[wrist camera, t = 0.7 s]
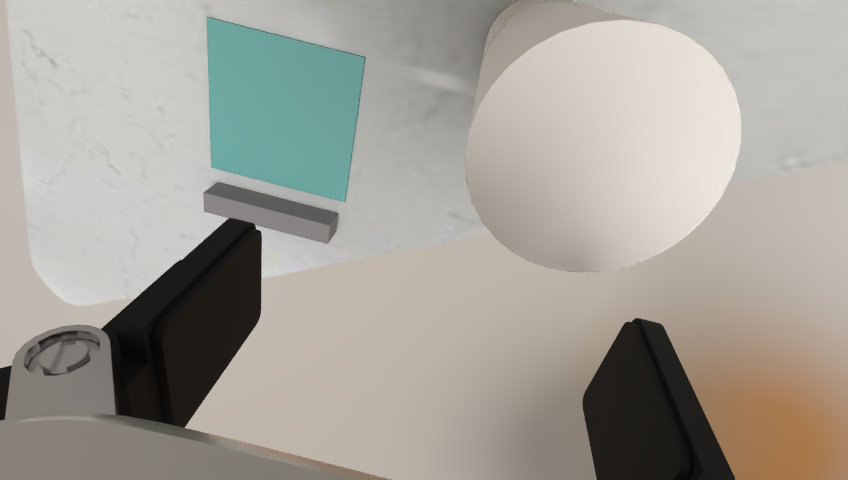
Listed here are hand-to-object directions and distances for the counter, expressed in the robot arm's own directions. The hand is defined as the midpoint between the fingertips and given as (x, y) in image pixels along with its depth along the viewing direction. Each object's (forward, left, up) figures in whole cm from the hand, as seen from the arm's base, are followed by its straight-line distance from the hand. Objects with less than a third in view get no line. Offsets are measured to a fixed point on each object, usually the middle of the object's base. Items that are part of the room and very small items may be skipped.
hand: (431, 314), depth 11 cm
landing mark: (+6, -16, -28) cm, 33 cm away
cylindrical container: (-4, +3, -29) cm, 29 cm away
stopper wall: (+15, -16, -28) cm, 36 cm away
